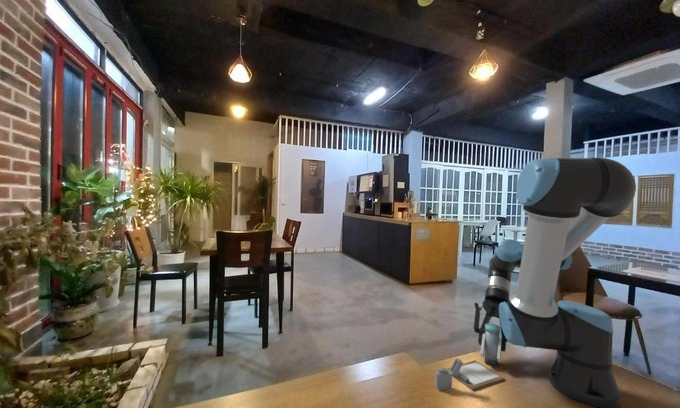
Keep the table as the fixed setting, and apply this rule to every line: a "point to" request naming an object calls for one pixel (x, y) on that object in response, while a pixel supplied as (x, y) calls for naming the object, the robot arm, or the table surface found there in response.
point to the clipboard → (476, 375)
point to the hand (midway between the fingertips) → (490, 357)
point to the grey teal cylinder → (491, 344)
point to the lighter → (447, 375)
